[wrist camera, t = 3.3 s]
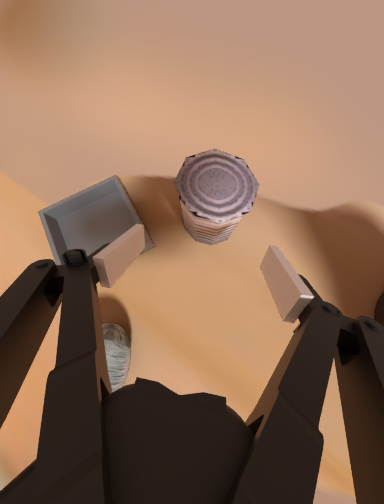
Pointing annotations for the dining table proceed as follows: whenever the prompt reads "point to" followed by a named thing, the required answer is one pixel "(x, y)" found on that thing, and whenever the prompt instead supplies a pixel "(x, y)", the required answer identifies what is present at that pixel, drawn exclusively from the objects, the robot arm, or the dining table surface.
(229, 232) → the can
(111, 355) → the spool
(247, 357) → the dining table surface
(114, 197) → the tray
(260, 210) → the dining table surface
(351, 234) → the dining table surface
